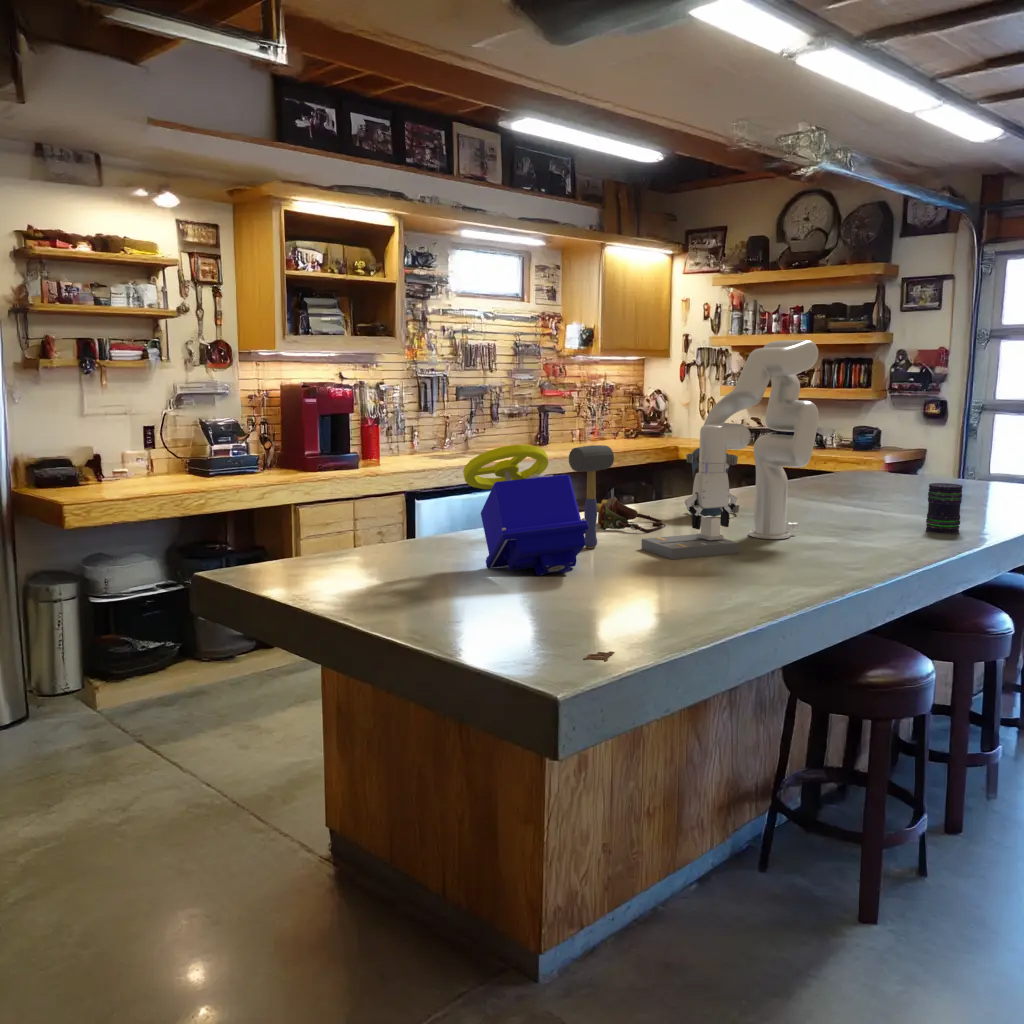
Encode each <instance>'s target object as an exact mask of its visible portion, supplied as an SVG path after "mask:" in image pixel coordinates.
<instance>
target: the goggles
mask: <svg viewBox="0 0 1024 1024" xmlns="http://www.w3.org/2000/svg"><path fill="white" fill-rule="evenodd" d="M637 518H639V519H644V520H648V521H651V522H652V525H651V526H652V527H653V528H643V527H642V526H641V525H639V524H637V523H632V522H631V523H630V522H629V521H630V520H635V519H637ZM597 525H598V526H600V527H601V528H603V529H604V530H606V529H609V530H623V529H627V528H630V529H631V530H633V531H634V530H635V531H639V532H642V533H644V534H645V533H646V534H649V533H650V534H651V533H653V532H657V531H659V530H662V529H663V528H665V527H666V523H663V520H662V519H658V518H656V517H653V516H650V515H649V514H648V515H646V514H642V513H639V512H638V510H636V509H634V508H632V507H629V506H627V505H626V504H623V503H621V502H620V501H619V500H618V498H617V497H616V496H612V498H609V499H602V500H601V503H599V502H598V503H597Z"/></svg>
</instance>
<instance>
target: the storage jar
mask: <svg viewBox="0 0 1024 1024" xmlns="http://www.w3.org/2000/svg"><path fill="white" fill-rule="evenodd" d="M963 488H964V487H963V485H962V484H957V483H947V482H946V483H945V482H944V483H943V482H942V483H940V482H935V483H929V484H928V492H927V493H928V494H927V496H928V497H927V502H928V503H927V505H928V506H927V513H926V520H925V523H926V524H925V525H926V527H925V532H928V533H933V534H940V535H957V534H959V533H960V526H961V504H962V501H963V499H962V498H963Z"/></svg>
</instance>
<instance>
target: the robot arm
mask: <svg viewBox="0 0 1024 1024" xmlns="http://www.w3.org/2000/svg"><path fill="white" fill-rule="evenodd" d="M818 358H819V348H818V347H817V345H816V343H815V342H814V341H812V340H808V339H803V340H802V339H800V340H799V339H798V340H797V339H796V340H795V339H794V340H774V341H770V342H768V343H766V344H764V346H763V347H760V348H756V349H754V350H752V351H751V352H750V353H749V355H748V357H747V359H746V361H745V364H744V366H743V368H742V371H741V373H740V375H739V377H738V380H737V382H736V384H735V386H734V388H733V389H732V391H730V392H729V393H727V394H726V395H725V396H724V397H722V398H721V399H720V400H718V402H717V403H715V405H713V407H712V408H711V409H710V410H709V411H708V414H707V416H706V418H705V420H704V424H703V426H700V427H701V428H700V431H699V448H700V452H699V473H696V476H695V480H694V484H693V486H692V494H691V495H690V496H689V497H688V498H686V499H685V500H684V504H685V507H686V509H687V511H688V512H689V514H690V515H691V528H692V529H695V530H701V516H702V515H701V514H700V512H701V511H702V510H703V509H709V508H721V509H722V511H723V512H721V515H720V527H723V528H729V526H730V525H729V524H730V514H731V513H733V512H732V511H731V510H732V509H733V508H734V507H735V505H737V502H738V497H737V496H736V495H733V494H732V493H730V482H729V476H728V473H726V468H730V466H729V465H728V464H726V453H727V451H728V450H735V451H736V450H738V451H739V450H742V449H744V448H746V447H747V446H748V445H749V443H750V441H751V437H752V435H751V431H750V430H749V428H748V427H747V426H746V425H744V424H742V423H729V422H726V421H727V420H728V419H729V418H731V417H732V416H734V415H735V414H737V413H739V412H741V411H745V410H746V409H749V408H751V407H753V406H755V405H757V404H758V405H759V403H760V402H761V401H762V399H763V397H764V394H765V392H766V390H767V387H768V385H769V383H770V381H771V388H770V394H769V399H768V403H767V407H766V412H765V425H766V428H769V429H770V430H773V431H779V432H790V433H791V432H793V435H792V434H791V435H788V434H775V433H774V434H773V433H771V434H770V433H768V434H763V435H761V436H759V437H758V438H757V439H756V440H755V442H754V443H753V458H754V464H755V465H754V466H755V489H754V490H755V493H754V513H753V514H754V515H753V516H754V518H753V529H750V530H749V531H748V536H750V537H753V538H756V539H762V540H763V539H764V540H783V539H789V538H790V537H791V534H792V533H791V532H789V531H790V530H795V529H798V528H799V523H798V522H790V521H787V507H788V504H787V503H788V487H789V485H788V483H789V480H788V476H787V473H786V471H785V469H784V467H787V468H803V467H805V466H807V465H808V464H809V462H810V461H811V458H812V455H813V450H814V446H815V442H816V441H815V440H816V435H817V431H818V427H819V420H820V419H819V418H820V415H819V410H818V409H819V408H818V407H817V405H816V404H815V403H814V402H812V401H811V400H810V401H809V400H799V398H800V393H801V392H800V390H801V383H800V380H799V377H798V376H797V375H798V374H800V373H802V372H805V371H808V370H810V369H811V368H812V367H814V365H815V364H816V363H817V361H818ZM692 505H693V506H694V507H692Z"/></svg>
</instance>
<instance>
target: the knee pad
mask: <svg viewBox="0 0 1024 1024" xmlns="http://www.w3.org/2000/svg"><path fill="white" fill-rule="evenodd" d="M699 452H700V447H698V448H696V449H694V450H693V451H692V453H686V455H685V456H686V458H685V459H686V463H687V464H688V463H689V464H691V468H692V478H693V479H692V483H693V485H694V480H695V476H696V473H699ZM738 459H739V456H738V455H737V454H736V455H735V454H733V453H732V454H729V453H728V452H726V464H728V465H729V468H730V466H735V465H738V461H739V460H738ZM729 468H726V473H727V474H728V473H729V470H730V469H729ZM692 507H694V506H693V505H692ZM739 509H740V505H739V504H735V507H734V508H733V509H732V510H731V511H732V512H731V513H732V514H738V513H739V511H740V510H739ZM721 512H723V511H722V509H721V508H709V509H703V510H702V511H701V512H700V514H699V515H700V516H713V517H718V516H721Z"/></svg>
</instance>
